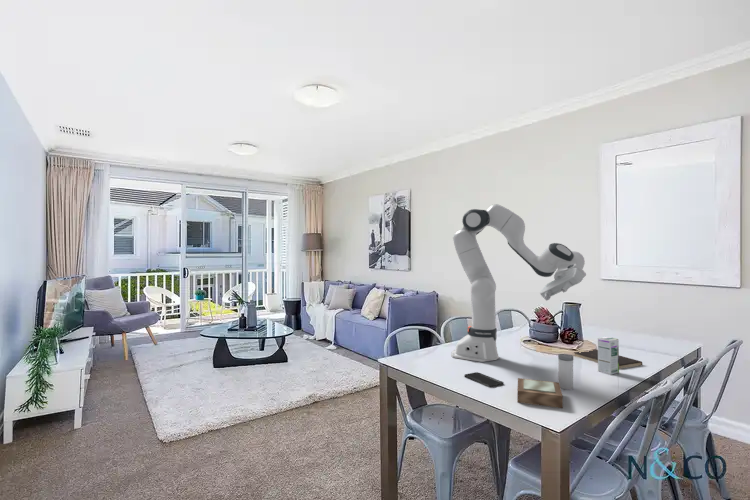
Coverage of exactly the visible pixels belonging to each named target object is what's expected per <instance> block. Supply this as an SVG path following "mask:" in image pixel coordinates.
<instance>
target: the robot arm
mask: <svg viewBox="0 0 750 500" xmlns="http://www.w3.org/2000/svg"><path fill="white" fill-rule="evenodd" d="M461 220H462V221H461V222H462V225H463V227H461V229H459V230H457V231H456V232H454V234H453V237H452V239H453V240H452V241H453V245H454V248H455V251H456V254H457V256H458V259H459V262H460V264H461V266H462V269H463V271H464V272H465V274H466V277H467V279H468V280H469V282H470V284H471V285H470V302H471V304H470V305H471V325H468V326H467V334H466V335H464V336H463V337H461V339H459V340H458V342H457V343H456V345H455V349H453V350H452V351H451V353H450V356H451V357H452V358H453V359H455V358H456V359H461V360H467V361H473V362H480V363H484V362H489V361H491V362H492V361H496V360H499V359H500V356H499V353H498V347H497V335H498V331H497V327H496V290H497V283H496V281H495V279H494V277H493V275H492V273H491V271H490V268H489V266H488V264H487V262H486V260H485V257H484V255H483V253H482V250H481V248H480V246H479V244H478V243H479V242H478V241H477V235H478V234H480V233H482V231H483V230H484V229H485V228H486V227H491V228H493V229H495V230H497V231H498V232H499V233H501V234H502V235H503V236H504V238H506V241H507V245H508V246H509V248H511V250H513V251H514V252H515V254H517V255H518V256H519V257H520V258H521V259H522V260H523V261H525V263H526V264H527V265H529V266H530V268H531V269H532V271H534V272H535V274H536V275H537V276H539V277H543V278H549V277H552V276H553V279H554V280H553V281H550V282H548V283H547V284H546V285H544V287H543V288H542V289H541V290H540V292H539V294H540V296H541V298H543V299H544V300H545V301H546V302H547V301H549V300H550V299H551V297H553V296H555V295H557V294H559V293H562V292H563V293H566V292H567V291H568V290H569V289H570V288H571V287H574V286H576V285H578V284H580V283H581V282H583V280H584V279H585V277H586V276H587V273H586V272H585V271H584V266H585V264H586V263H585V257H584V255H583V254H582V253H580V252H578V251H573V250H571V249H570V248H568V246H566V245H565V244H562V243H558V242H553V243H550V244H549V245H548V246H547V247H546V248H545V249H544V250H543V252H542V253H541V254H540V255H539V256H538V255H537V254H536V253H535V252H533V250H531V249H530V247H528V246H527V245H526V244H525V241H524V238H525V232H526V223H525V221H524V219H523V217H522V218H521V216H519V215H518V214H516V213H515V212H514V211H512V210H510V209H509V208H507V207H505V206H502V205H500V204H498V203H494V204H492V205H489V206H488V208H486V209H479V208H478V209H477V208H472V209H469V210H467V211H466V212H465V213H464V214H463V216H462V219H461Z"/></svg>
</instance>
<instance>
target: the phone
mask: <svg viewBox="0 0 750 500" xmlns="http://www.w3.org/2000/svg"><path fill="white" fill-rule="evenodd" d="M463 377H464V378H466V379H468V380H470V381H473V382H475V383H478V384H480V385H482V386H484V387H487V388H496V387H500V386H505V385H504V381H501V380H499V379H496V378H494V377H491V376H489V375H486V374H484V373H480V372H478V371H476V372H475V371H474V372H471V373H466V374H464V376H463Z"/></svg>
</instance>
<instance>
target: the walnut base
mask: <svg viewBox="0 0 750 500" xmlns="http://www.w3.org/2000/svg"><path fill="white" fill-rule="evenodd" d="M563 397H564V396H563V392H562V389H561V388H560V385H559V383H558V382H555V381H547V380H540V379H539V380H538V379H531V378H520V377H518V378H517V397H516V398H517V403H521V404H526V405H527V404H529V405H536V406H542V407H549V406H550V408H557V407H558V408H557V409H563V408H564V407H563V405H564V404H563V403H564V402H563V399H564V398H563Z"/></svg>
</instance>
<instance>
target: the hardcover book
mask: <svg viewBox="0 0 750 500" xmlns="http://www.w3.org/2000/svg"><path fill="white" fill-rule="evenodd" d="M592 350H593V351H589V352H581V353H579V352H580V351H575V352H573V354H574V357H577V358H579V359H580V358H581V359H583V360H584V359H585V360H587V361H590V362H592V363H593V362H594V363H597V364H598V348H597V349H592ZM638 366H639V367H640V366H643V361H641V360H637V359H634V358H630V357H627V356H622V355H619V370H620V369H626V368H633V367H638Z"/></svg>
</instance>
